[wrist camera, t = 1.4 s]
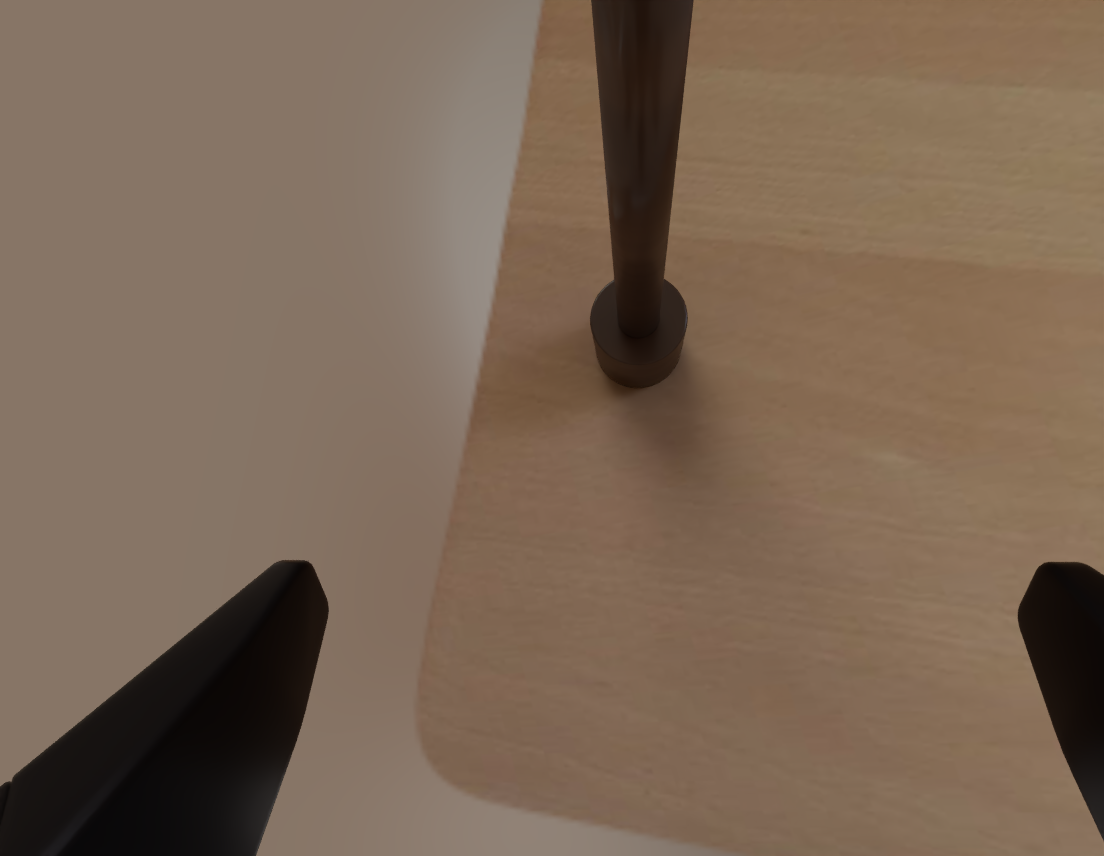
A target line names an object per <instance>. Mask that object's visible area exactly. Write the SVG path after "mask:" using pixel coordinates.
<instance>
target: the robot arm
mask: <svg viewBox="0 0 1104 856" xmlns="http://www.w3.org/2000/svg"><path fill="white" fill-rule="evenodd" d="M328 612H329V608H328V601H327V598H326V595H325V593H324V591H323V588H322V586H321V584H320V581H319V579H318V577H317V574H316V572H315V569H314V568H313V566H312V564H311V563H309V562H308V561H305V560H282V561H279V562H276V563H274V564H273V565H272V566H270V567H269V568H268V569H267V570H266V571H264V572H263V573H262V574H261V575H259V576H258V577H257V578H256V579H254V580H253V581H252V582H251V583H250V584H248V585H247V586H246V587H245V588H243V589H242V590H241V591H240V592H239V593H237V594H236V595H235V596H234V597H232V598H231V599H230V600H229V601H228V602H226V603H225V604H224V605H223V606H221V607H220V608H219V609H218V610H216V611H215V612H214V613H213V614H212V615H210V616H209V617H208V618H207V619H205V620H204V621H203V622H202V623H200V624H199V625H198V626H197V627H196V628H194V629H193V630H192V631H191V632H189V633H188V634H187V635H186V636H184V637H183V638H182V639H181V640H180V641H178V642H177V643H176V644H175V645H174V646H172V647H171V648H170V649H169V650H167V651H166V652H165V653H164V654H162V655H161V656H160V657H159V658H158V659H156V660H155V661H154V662H153V663H151V664H150V665H149V666H148V667H146V668H145V669H144V670H143V671H142V672H140V673H139V674H138V675H137V676H136V677H134V678H133V679H132V680H131V681H129V682H128V683H127V684H126V685H124V686H123V687H122V688H121V689H120V690H118V691H117V692H116V693H115V694H113V695H112V696H111V697H110V698H108V699H107V700H106V701H105V702H104V703H102V704H101V705H100V706H99V707H97V708H96V709H95V710H94V711H93V712H91V713H90V714H89V715H88V716H86V717H85V718H84V719H83V720H82V721H80V722H79V723H78V724H77V725H75V726H74V727H73V728H72V729H71V730H69V731H68V732H67V733H66V734H65V735H63V736H62V737H61V738H59V739H58V740H57V741H56V742H55V743H53V744H52V745H51V746H50V747H48V748H47V749H46V750H45V751H44V752H42V753H41V754H40V755H39V756H37V757H36V758H35V759H34V760H32V761H31V762H30V763H29V764H28V765H26V766H25V767H24V768H23V769H21V770H20V771H19V772H18V773H16V774H15V775H14V777H13V779H12V782H10V781H9V782H6V783H4V784H3V785H2V786H0V856H256V854H257V851H258V848H259V845H260V843H261V840H262V837H263V834H264V831H265V828H266V826H267V823H268V820H269V817H270V814H271V812H272V809H273V806H274V803H275V800H276V798H277V795H278V792H279V789H280V786H281V783H282V781H283V778H284V775H285V772H286V769H287V767H288V764H289V761H290V758H291V755H292V752H293V750H294V747H295V744H296V741H297V738H298V735H299V732H300V729H301V726H302V722H303V718H304V714H305V711H306V707H307V702H308V699H309V694H310V690H311V686H312V682H313V678H314V673H315V669H316V665H317V661H318V657H319V653H320V649H321V645H322V640H323V636H324V631H325V628H326V624H327V619H328ZM1018 623H1019V627H1020V631H1021V634H1022V637H1023V639H1024V642H1025V645H1026V648H1027V651H1028V654H1029V657H1030V660H1031V663H1032V666H1033V669H1034V672H1035V674H1036V677H1037V680H1038V683H1039V686H1040V689H1041V692H1042V695H1043V698H1044V701H1045V704H1046V707H1047V710H1048V712H1049V715H1050V718H1051V721H1052V724H1053V727H1054V730H1055V733H1056V735H1057V738H1058V741H1059V743H1060V746H1061V749H1062V751H1063V754H1064V756H1065V758H1066V760H1067V763H1068V765H1069V767H1070V770H1071V772H1072V774H1073V776H1074V778H1075V781H1076V783H1077V785H1078V787H1079V789H1080V791H1081V793H1082V796H1083V798H1084V800H1085V802H1086V804H1087V806H1088V808H1089V811H1090V813H1091V815H1092V817H1093V819H1094V821H1095V823H1096V825H1097V828H1098V830H1099V832H1100V834H1101V836H1102V838H1103V840H1104V575H1103V574H1101V573H1100V572H1098V571H1097V570H1095V569H1093V568H1092V567H1090V566H1088V565H1086V564H1084V563H1079V562H1046V563H1043V564H1042V565H1041V566H1039V567H1038V568H1037V570H1036V572H1035V574H1034V576H1033V578H1032V580H1031V582H1030V584H1029V587H1028V589H1027V591H1026V593H1025V595H1024V597H1023V599H1022V601H1021V603H1020V606H1019V609H1018Z"/></svg>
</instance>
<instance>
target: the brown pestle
mask: <svg viewBox="0 0 1104 856" xmlns="http://www.w3.org/2000/svg"><path fill="white" fill-rule="evenodd" d="M591 2H592V14H593V27H594V39H595V51H596V63H597V75H598V87H599V99H600V111H601V124H602V136H603V148H604V160H605V172H606V184H607V196H608V208H609V221H610V233H611V245H612V257H613V269H614V280H613V281H611V282H610V283H609V284H607V285H606V286H605V287H604V288H603V289H602V290H601V291H600V293H599V294H598V296H597V297H596V299H595V301H594V304H593V306H592V310H591V316H590V325H591V331H592V335H593V340H594V345H595V349H596V354H597V358H598V361H599V364H600V366H601V368H602V369H603V371H604V372H605V373H606V374H607V375H608V376H609V377H610V378H611V379H612V380H614V381H615V382H617V383H619V384H621V385H624V386H628V387H634V388H643V387H648V386H652V385H654V384H657V383H659V382H660V381H662V380H664V379H665V378H666V377H667V376H668V375H669V374H670V373H671V372H672V371H673V369H674V368H675V366H676V364H677V363H678V360H679V357H680V353H681V349H682V344H683V340H684V336H685V332H686V327H687V319H688V317H687V309H686V305H685V302H684V300H683V298H682V296H681V294H680V293H679V292H678V290H677V289H676V288H675V287H674V286H673V285H672V284H671V283H669V282H668V281H666V280H665V279H664V271H665V262H666V253H667V243H668V234H669V225H670V215H671V206H672V196H673V187H674V178H675V168H676V159H677V150H678V140H679V131H680V122H681V112H682V103H683V93H684V84H685V75H686V65H687V56H688V47H689V37H690V28H691V19H692V9H693V0H591Z"/></svg>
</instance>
